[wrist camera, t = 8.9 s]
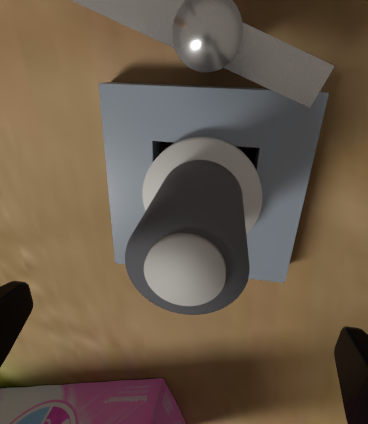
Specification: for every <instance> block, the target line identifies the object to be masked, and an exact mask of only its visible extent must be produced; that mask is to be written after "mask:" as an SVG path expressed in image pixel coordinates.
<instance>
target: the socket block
mask: <svg viewBox="0 0 368 424" xmlns="http://www.w3.org/2000/svg"><path fill="white" fill-rule="evenodd" d="M99 94H100V105H101V115H102V126H103V137H104V148H105V158H106V169H107V180H108V191H109V202H110V212H111V223H112V234H113V245H114V255H115V263H119V264H125V251H126V247H127V243H128V241H129V239H130V237H131V235H132V233H133V232H134V230H135V228H136V227H137V225H138V223H139V222H140V220H141V218H142V217H143V215H144V213H145V212H146V211H145V208H144V204H143V197H142V190H143V183H144V179H145V176H146V173H147V171H148V169H149V167H150V166H151V164H152V163H153V162H154V160H155V159H156V158H157V157H158V156H159V141H162V142H178V141H180V140H183V139H186V138H191V137H201V136H205V137H214V138H218V139H221V140H224V141H226V142H229V143H231V144H232V145H234V146H240V147H255V148H257V149H256V156H255V163H254V167H255V169H256V171H257V173H258V176H259V179H260V183H261V188H262V206H261V211H260V214H259V217H258V219H257V221H256V223H255V224H254V226H253V227H252V229H251V230H250V231H249V232H248V233H247V234H246V236H247V246H248V256H249V265H250V269H249V277H248V279H257V280H265V281H274V282H282V283H285V280H286V276H287V271H288V267H289V263H290V258H291V254H292V250H293V246H294V241H295V237H296V233H297V228H298V224H299V220H300V216H301V211H302V207H303V203H304V198H305V194H306V190H307V185H308V181H309V177H310V173H311V168H312V164H313V160H314V155H315V151H316V147H317V143H318V138H319V134H320V130H321V125H322V121H323V117H324V113H325V108H326V104H327V100H328V95H329V93H328V92H324V91H320V92H319V94H318V95H317V97H316V99H315V100H314V102H313V104H312V105H311V107H310V108H309V107H307V106H305V105H303V104H300V103H298V102H296V101H294V100H292V99H290V98H287V97H285V96H283V95H281V94H279V93H277V92H275V91H272V90H270V89H268V88H248V87H224V86H199V85H174V84H150V83H125V82H105V83H99Z"/></svg>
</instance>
